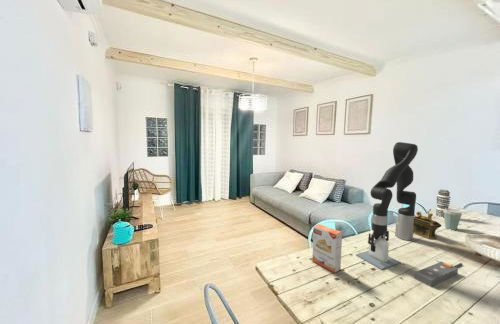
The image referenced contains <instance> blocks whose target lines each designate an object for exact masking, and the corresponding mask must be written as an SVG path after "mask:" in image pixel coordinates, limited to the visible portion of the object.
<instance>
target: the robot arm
mask: <svg viewBox="0 0 500 324" xmlns="http://www.w3.org/2000/svg"><path fill="white" fill-rule="evenodd" d="M418 151H419V149H418V145H417V144H416V143H409V142H401V141H399V142H396V143H395V144H394V146H393V149H392V155H393V159H394V165H393V166H390V167H389V168H388V169H387V170H386V171H385V172H384V174H383V176H382V177H381V179H380V180H379V181H378V182H377V183H376V184H375V185H374V186H373V187H372V188H371V190H370V196H371V198H373V199H374V200H378V201H381V202H379V203H377V202H376V203H374V204H373V207H372V208H373V211H372V217H371V230H372V233H368V238H367V243H368V245H369V244H371V251H373V252H375V248H376V246H375V245H376V243H378V241H379V239H380V238H383V239H384V240H386V241H387V242H389V241H390V231H389V230H388V223H389V221H388V211H389V206H390V205H391V204H390V203H391V201H392V199H393V196H394V195H393V191H392V190H391V189H390V188H394V186H395V185H396V202H397V203H398V204H402V205H408V206H406V207H400V208H398V210H397V222H396V223H395V235H394V236H395V237H397V238H398V239H401V240H403V241H412V240H413V239H414V233H413V228H414V217H415V216H414V215H415V212H416V211H415V209H416V204H417V203H416V201H417V193H416V192H414V191H408V190H405V189H406V188H407V187H409V186H410V185H411V184H412V183H413V181H414V170H413V169H412V168H411V166H410V164H411V163H412V162H413V161H414V159H415V158H416V156H417V155H418ZM374 238H375V239H376V240H374ZM370 240H371V242H370ZM374 241H375V242H374Z"/></svg>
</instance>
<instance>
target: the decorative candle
mask: <svg viewBox="0 0 500 324" xmlns="http://www.w3.org/2000/svg"><path fill="white" fill-rule="evenodd" d="M437 192H438V194H437V196H436V205H437V206H436V208H435V217H436V216H438V217H443V218H444V212H443V210H444V209H446V208H447V209H449V207H450V204H451V203H450V202H451V194H450V193H451V192H450V191H449V190H448V189H439V190H438V191H437Z"/></svg>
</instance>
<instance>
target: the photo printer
mask: <svg viewBox="0 0 500 324" xmlns="http://www.w3.org/2000/svg"><path fill="white" fill-rule="evenodd" d="M374 240H376V239H375V238H374ZM370 242H371V240H370ZM374 242H375V241H374ZM375 246H376V248H375V252H373V251H371V244H368V251H369V255H370V256H372V257H374V258H376V259H378V260H380V261H383V262H387V261H388V256H389V246H390V245H389V241H386V240H384V239H383V238H380V239H379V241H378V243H376V245H375Z"/></svg>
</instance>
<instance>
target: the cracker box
mask: <svg viewBox="0 0 500 324" xmlns="http://www.w3.org/2000/svg"><path fill="white" fill-rule="evenodd" d="M312 229H313V231H312V232H313V233H312V234H313V235H312V262H313V263H315V264H317V265H319V266H320V267H322V268H324V269H326V270H328V271H330V272H332V273H333V274H336V273H337V272H339V271H340V270H341V267H342V265H341V264H342V246H343V245H342V244H343V243H342V241H343V232H342V231H340V230H337V229H334V228H332V227H330V226H329V227H328V226H326V225H323V224H320V223H318V224H316V225H314V226H313V228H312Z"/></svg>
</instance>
